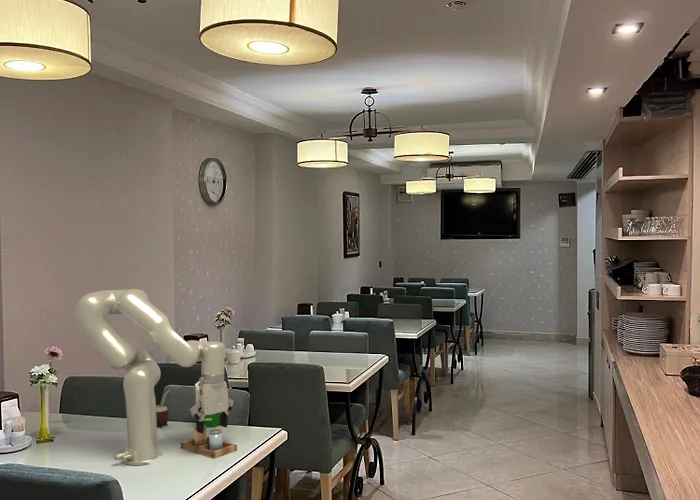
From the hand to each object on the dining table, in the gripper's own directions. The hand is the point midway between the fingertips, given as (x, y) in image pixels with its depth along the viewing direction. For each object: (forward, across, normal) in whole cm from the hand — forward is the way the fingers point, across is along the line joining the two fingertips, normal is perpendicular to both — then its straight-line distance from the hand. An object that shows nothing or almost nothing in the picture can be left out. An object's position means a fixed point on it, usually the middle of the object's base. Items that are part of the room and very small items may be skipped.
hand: (212, 429), depth 222 cm
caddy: (+9, +1, +3) cm, 10 cm away
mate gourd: (+10, +10, +46) cm, 48 cm away
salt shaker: (+8, +1, -1) cm, 8 cm away
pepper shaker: (+8, +1, +8) cm, 11 cm away
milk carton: (+10, +20, +28) cm, 36 cm away
